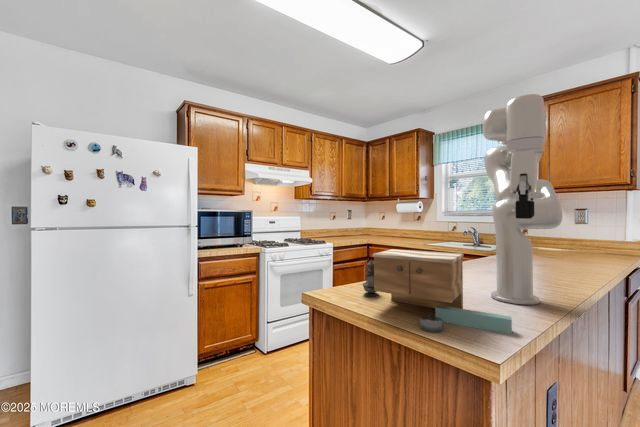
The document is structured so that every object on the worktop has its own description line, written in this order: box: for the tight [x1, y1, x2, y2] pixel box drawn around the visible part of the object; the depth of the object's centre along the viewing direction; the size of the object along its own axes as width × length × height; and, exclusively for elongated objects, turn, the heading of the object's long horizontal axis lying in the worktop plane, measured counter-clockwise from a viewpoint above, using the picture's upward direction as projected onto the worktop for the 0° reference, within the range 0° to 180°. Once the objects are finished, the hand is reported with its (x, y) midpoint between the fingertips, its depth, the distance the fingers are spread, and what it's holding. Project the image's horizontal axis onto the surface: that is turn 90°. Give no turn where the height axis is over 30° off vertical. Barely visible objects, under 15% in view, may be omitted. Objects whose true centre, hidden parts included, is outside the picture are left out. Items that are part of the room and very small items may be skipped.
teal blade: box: [434, 305, 513, 335], centre depth 70 cm, size 2×16×4 cm, turn 56°
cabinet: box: [372, 248, 465, 309], centre depth 81 cm, size 15×21×16 cm
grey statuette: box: [362, 259, 380, 298], centre depth 98 cm, size 6×6×12 cm
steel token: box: [419, 314, 444, 334], centre depth 68 cm, size 5×5×2 cm
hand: (525, 217), depth 72 cm, fingers open, 9 cm apart
